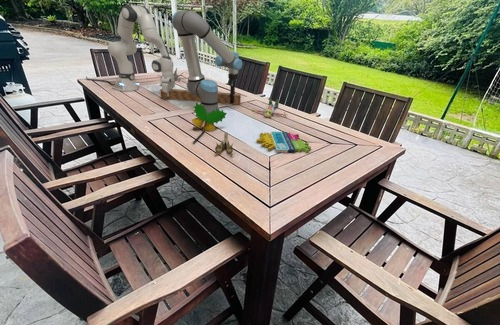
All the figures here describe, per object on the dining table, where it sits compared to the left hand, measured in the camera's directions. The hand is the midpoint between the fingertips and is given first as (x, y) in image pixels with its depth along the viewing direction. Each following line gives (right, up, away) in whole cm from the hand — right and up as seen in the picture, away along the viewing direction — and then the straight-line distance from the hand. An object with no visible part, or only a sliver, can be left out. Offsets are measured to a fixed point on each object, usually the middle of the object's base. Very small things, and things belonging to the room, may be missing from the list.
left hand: (169, 95), depth 214 cm
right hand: (+51, -6, +1) cm, 52 cm away
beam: (+26, -4, +1) cm, 26 cm away
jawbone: (+53, -50, -76) cm, 105 cm away
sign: (+85, -44, -62) cm, 114 cm away
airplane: (-15, +27, +52) cm, 61 cm away
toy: (+82, -17, -14) cm, 85 cm away
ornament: (+41, -34, -50) cm, 73 cm away
